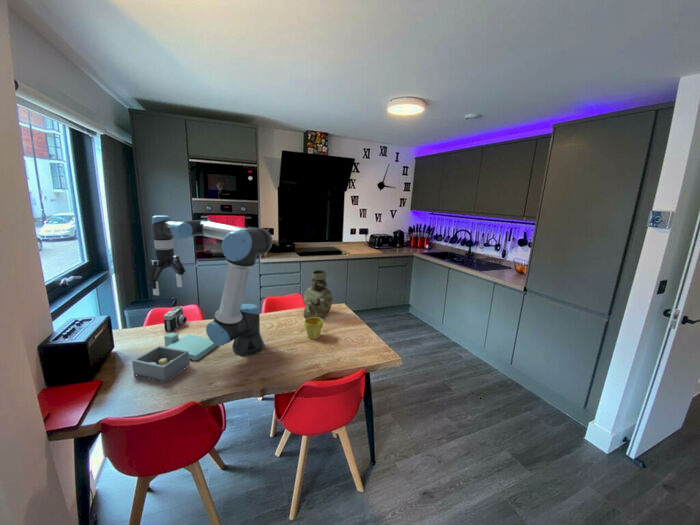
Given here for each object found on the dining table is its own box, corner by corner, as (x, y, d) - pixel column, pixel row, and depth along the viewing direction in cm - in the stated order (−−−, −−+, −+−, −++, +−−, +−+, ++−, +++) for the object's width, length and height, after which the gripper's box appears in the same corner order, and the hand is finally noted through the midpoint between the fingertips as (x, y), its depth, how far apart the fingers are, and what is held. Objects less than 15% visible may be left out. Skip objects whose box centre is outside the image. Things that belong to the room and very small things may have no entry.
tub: (189, 365, 129) (188, 351, 128) (165, 382, 117) (163, 367, 116) (160, 359, 133) (159, 345, 132) (134, 375, 121) (131, 360, 119)
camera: (180, 331, 160) (178, 315, 158) (164, 331, 159) (162, 315, 157) (190, 321, 174) (189, 305, 172) (176, 321, 173) (174, 305, 171)
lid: (218, 346, 148) (217, 335, 146) (196, 361, 133) (195, 350, 132) (180, 338, 153) (179, 327, 152) (155, 352, 138) (154, 341, 137)
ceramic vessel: (312, 325, 175) (313, 278, 168) (297, 313, 191) (297, 270, 185) (338, 319, 186) (340, 274, 179) (322, 308, 202) (323, 267, 196)
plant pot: (300, 338, 158) (300, 322, 156) (310, 331, 167) (310, 315, 165) (317, 342, 154) (317, 326, 152) (325, 334, 164) (326, 319, 162)
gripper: (178, 243, 149) (182, 282, 154) (132, 252, 125) (138, 297, 130) (191, 245, 147) (194, 284, 152) (146, 253, 124) (152, 299, 128)
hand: (168, 290), depth 141 cm, fingers open, 13 cm apart
